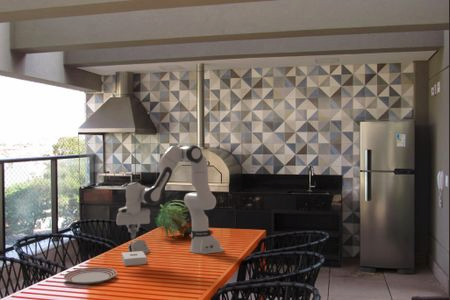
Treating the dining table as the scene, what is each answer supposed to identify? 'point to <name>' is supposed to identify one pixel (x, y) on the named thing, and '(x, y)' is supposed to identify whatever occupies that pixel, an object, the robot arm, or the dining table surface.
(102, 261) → the dining table surface
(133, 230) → the pin
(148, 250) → the grey curved slotted block
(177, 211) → the plant
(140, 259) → the grey block with hole
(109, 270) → the dinner plate
